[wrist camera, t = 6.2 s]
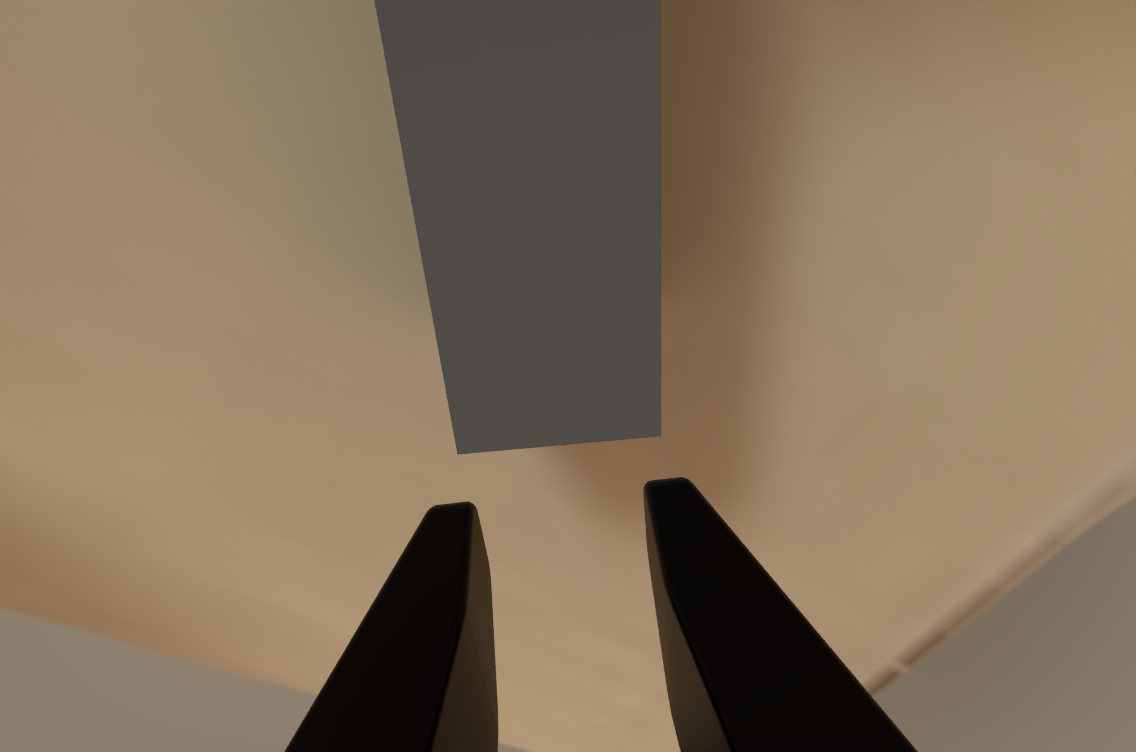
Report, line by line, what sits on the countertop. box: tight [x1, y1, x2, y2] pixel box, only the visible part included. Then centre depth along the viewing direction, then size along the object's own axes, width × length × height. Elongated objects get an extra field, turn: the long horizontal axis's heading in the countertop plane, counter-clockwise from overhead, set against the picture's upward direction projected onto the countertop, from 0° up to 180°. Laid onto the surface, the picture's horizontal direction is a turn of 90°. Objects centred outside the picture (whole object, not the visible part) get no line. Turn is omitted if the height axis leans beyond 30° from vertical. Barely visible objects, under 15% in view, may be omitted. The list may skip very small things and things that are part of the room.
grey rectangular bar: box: [375, 0, 661, 454], centre depth 17 cm, size 12×4×4 cm, turn 4°
